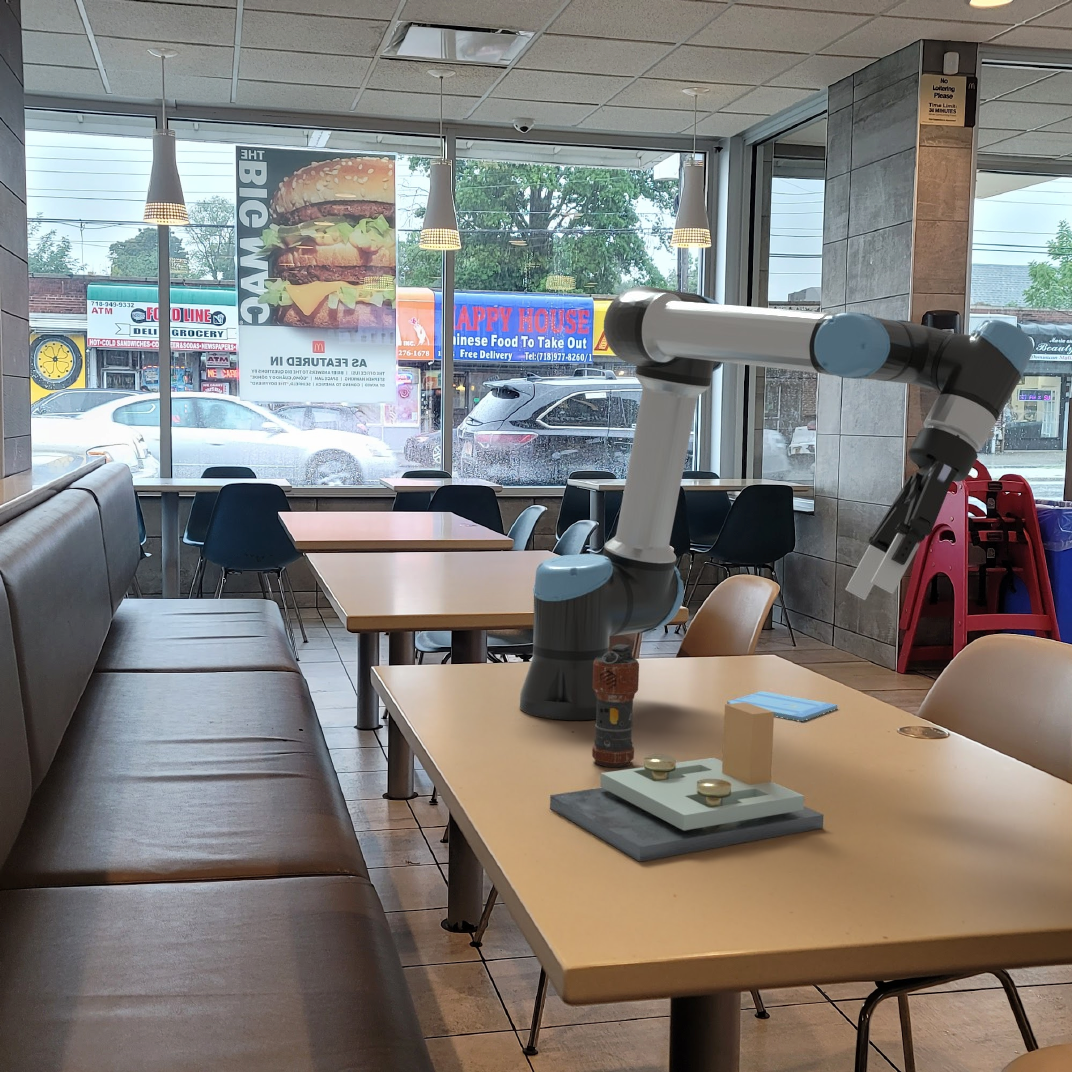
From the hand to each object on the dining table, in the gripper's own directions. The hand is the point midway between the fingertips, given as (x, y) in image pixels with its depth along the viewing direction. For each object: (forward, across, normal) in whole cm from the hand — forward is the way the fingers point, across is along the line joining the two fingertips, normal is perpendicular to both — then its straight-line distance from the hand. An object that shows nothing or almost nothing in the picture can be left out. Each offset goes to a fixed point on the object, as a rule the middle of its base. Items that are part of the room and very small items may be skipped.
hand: (867, 591), depth 139 cm
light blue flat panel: (+16, +45, -5) cm, 48 cm away
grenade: (+34, +11, +16) cm, 39 cm away
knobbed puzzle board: (+31, -10, +7) cm, 33 cm away
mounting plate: (+34, -10, +8) cm, 36 cm away
